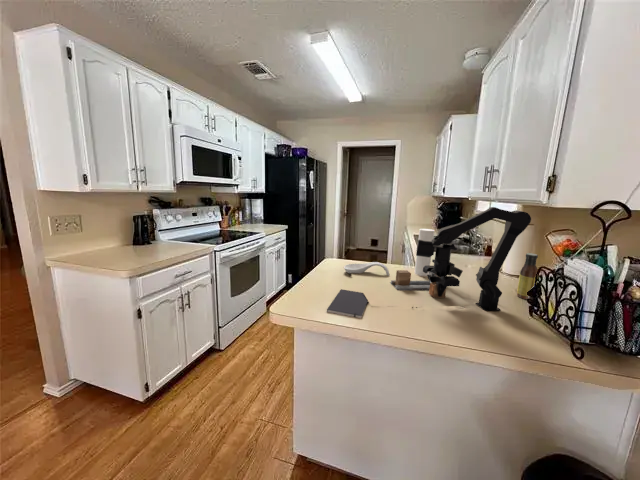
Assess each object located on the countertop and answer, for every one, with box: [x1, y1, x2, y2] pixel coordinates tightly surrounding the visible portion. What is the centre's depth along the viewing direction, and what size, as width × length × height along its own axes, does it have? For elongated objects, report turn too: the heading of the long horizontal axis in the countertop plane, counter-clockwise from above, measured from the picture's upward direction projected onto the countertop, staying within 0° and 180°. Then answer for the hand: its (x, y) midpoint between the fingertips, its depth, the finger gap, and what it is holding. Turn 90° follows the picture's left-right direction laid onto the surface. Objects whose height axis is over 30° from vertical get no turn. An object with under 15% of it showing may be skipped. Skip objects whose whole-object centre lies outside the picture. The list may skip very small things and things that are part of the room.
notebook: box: [326, 288, 369, 319], centre depth 108 cm, size 13×2×21 cm
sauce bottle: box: [516, 252, 539, 300], centre depth 121 cm, size 7×6×20 cm
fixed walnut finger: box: [395, 269, 412, 285], centre depth 125 cm, size 3×6×7 cm, turn 96°
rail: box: [389, 279, 431, 292], centre depth 126 cm, size 10×22×3 cm, turn 96°
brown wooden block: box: [428, 282, 447, 299], centre depth 115 cm, size 3×6×7 cm, turn 96°
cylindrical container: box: [414, 228, 435, 277], centre depth 143 cm, size 7×7×25 cm
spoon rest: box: [343, 261, 390, 277], centre depth 144 cm, size 24×12×7 cm, turn 76°
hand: (437, 294), depth 116 cm, fingers closed on brown wooden block, 3 cm apart
